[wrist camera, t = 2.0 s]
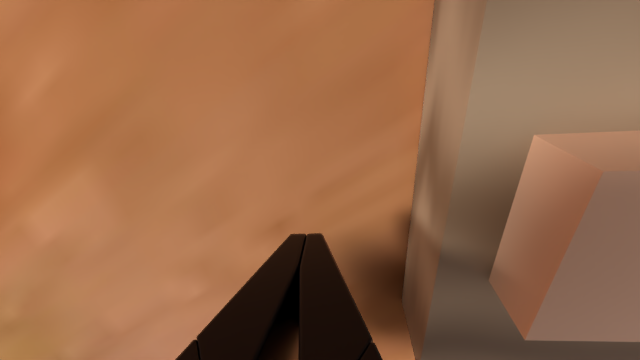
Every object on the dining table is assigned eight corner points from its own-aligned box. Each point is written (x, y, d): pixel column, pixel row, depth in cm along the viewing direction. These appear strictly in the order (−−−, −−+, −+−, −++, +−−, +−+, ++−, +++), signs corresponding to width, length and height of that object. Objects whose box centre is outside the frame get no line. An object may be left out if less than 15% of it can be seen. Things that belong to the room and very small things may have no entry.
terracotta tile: (655, 280, 9) (735, 343, 7) (488, 280, 9) (524, 340, 7) (765, 124, 6) (928, 161, 5) (534, 134, 7) (603, 171, 5)
